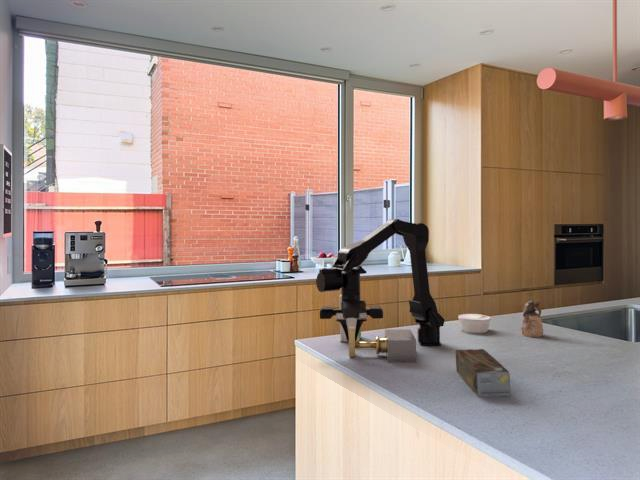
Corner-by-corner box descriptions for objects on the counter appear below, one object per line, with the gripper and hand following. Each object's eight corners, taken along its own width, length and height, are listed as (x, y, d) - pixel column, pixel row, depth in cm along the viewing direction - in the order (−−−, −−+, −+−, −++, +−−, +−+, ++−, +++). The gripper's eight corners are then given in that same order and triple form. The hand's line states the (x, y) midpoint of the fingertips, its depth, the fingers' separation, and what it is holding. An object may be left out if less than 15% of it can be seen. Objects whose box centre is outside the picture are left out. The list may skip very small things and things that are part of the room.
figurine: (525, 331, 171) (525, 298, 171) (546, 334, 166) (546, 300, 166) (517, 335, 166) (517, 300, 166) (538, 338, 161) (538, 303, 161)
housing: (410, 349, 150) (410, 329, 150) (416, 362, 136) (416, 340, 136) (384, 349, 150) (384, 329, 150) (387, 362, 136) (387, 340, 136)
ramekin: (495, 334, 169) (494, 319, 169) (463, 334, 169) (463, 319, 169) (484, 327, 180) (484, 313, 180) (454, 327, 180) (454, 313, 180)
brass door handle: (396, 352, 146) (396, 326, 145) (398, 356, 141) (397, 329, 140) (349, 352, 147) (348, 326, 147) (349, 356, 142) (348, 330, 141)
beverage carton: (475, 397, 108) (475, 369, 108) (454, 372, 128) (454, 347, 127) (511, 397, 108) (511, 368, 108) (484, 371, 127) (484, 347, 127)
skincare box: (358, 342, 160) (357, 296, 160) (339, 341, 162) (338, 295, 161) (361, 336, 169) (360, 292, 168) (342, 336, 170) (342, 292, 169)
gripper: (317, 293, 136) (319, 348, 137) (383, 292, 135) (384, 347, 135) (320, 288, 147) (321, 338, 148) (381, 287, 146) (382, 338, 146)
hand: (351, 340), depth 144 cm, fingers closed on brass door handle, 2 cm apart
